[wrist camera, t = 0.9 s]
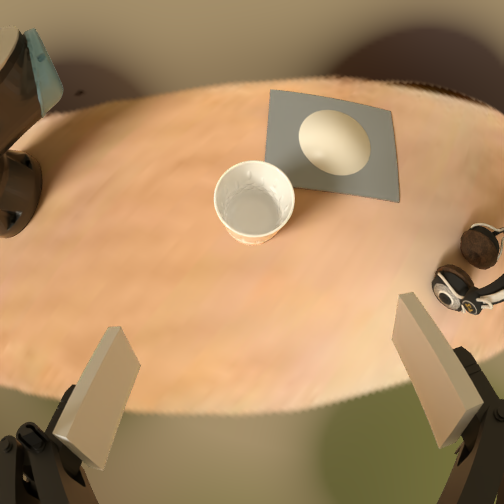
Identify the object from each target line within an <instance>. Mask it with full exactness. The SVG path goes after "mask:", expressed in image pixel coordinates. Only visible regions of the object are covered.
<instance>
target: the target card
mask: <svg viewBox="0 0 504 504" xmlns="http://www.w3.org/2000/svg"><path fill="white" fill-rule="evenodd" d="M265 162H267V163H270V164H272V165H274V166H276V167H277V168H279V169H280V170H281V171H283V172H284V173H285V175H286V176H287V177H288V179H289V180H290V182H291V184H292V186H293V188H302V189H310V190H318V191H326V192H333V193H340V194H347V195H354V196H361V197H367V198H373V199H380V200H386V201H391V202H397V203H399V183H398V169H397V158H396V148H395V139H394V131H393V124H392V117H391V111H387V110H383V109H379V108H375V107H371V106H367V105H363V104H358V103H354V102H349V101H344V100H339V99H334V98H328V97H322V96H316V95H310V94H303V93H296V92H289V91H280V90H270V102H269V115H268V128H267V140H266V152H265Z"/></svg>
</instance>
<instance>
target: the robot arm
mask: <svg viewBox="0 0 504 504" xmlns="http://www.w3.org/2000/svg"><path fill="white" fill-rule="evenodd" d="M62 93H63V86H62V83H61V81H60V79H59V76H58V74H57V72H56V70H55V68H54V65H53V63H52V61H51V59H50V57H49V55H48V53H47V51H46V49H45V46H44V44H43V42H42V40H41V38H40V36H39V34H38V33H37V31H36V29H34V28H33V29H30V30H28V31H25V32H24V34H23V35H22V34H21V32H20V31H19V30H18V29H17V28H16V27H15V26H8V27H3V28H0V237H2V238H10V237H13V236H15V235H16V234H18V233H19V232H20V231H21V230H22V229H23V228H24V227H25V226H26V225H27V223H28V222H29V220H30V219H31V217H32V215H33V213H34V211H35V209H36V207H37V204H38V201H39V197H40V193H41V186H42V174H41V169H40V166H39V164H38V162H37V161H36V159H35V158H33V157H32V156H30V155H29V154H27V153H25V152H23V151H16V150H8V149H9V148H10V147H11V146H12V145H13V144H14V143H15V142H16V141H17V140H18V139H19V138H20V137H21V136H22V135H23V134H24V133H25V132H26V131H27V130H29V129H30V128H31V127H32V126H33V125H34V124H35V123H36V122H37V121H38V120H40V119H41V118H43V117H44V116H45V113H46V112H47V111H49V109H51V108H52V107H53V106H54V105H55V104H56V103H57V102H58V101H59V100H60V98H61V97H62ZM392 341H393V343H394V345H395V347H396V349H397V351H398V353H399V355H400V358H401V360H402V362H403V364H404V366H405V368H406V370H407V373H408V375H409V377H410V379H411V381H412V384H413V386H414V388H415V390H416V393H417V395H418V397H419V400H420V402H421V404H422V407H423V409H424V411H425V414H426V416H427V418H428V421H429V424H430V426H431V428H432V431H433V434H434V436H435V439H436V442H437V444H438V447H439V449H441V448H443V447H445V446H448V445H450V444H453V443H455V442H456V441H457V440H458V438H459V437H460V436H462V438H463V440H464V441H463V442H462V444H461V445H460V446H459V447H458V449H457V450H456V452H455V454H457V453H458V452H459V453H458V456H457V459H456V461H455V464H454V466H453V469H452V471H451V474H450V476H449V479H448V481H447V483H446V485H445V488H444V490H443V492H442V494H441V496H440V498H439V500H438V502H437V504H494V501H495V498H496V495H497V501H496V504H504V400H503V399H499V397H498V396H497V395H496V393H495V391H494V390H493V388H492V386H491V385H490V383H489V381H488V380H487V378H486V376H485V375H484V373H483V372H482V371H481V369H480V367H479V365H478V364H477V362H476V361H475V359H474V357H473V356H472V354H471V353H470V352H468V351H467V350H466V349H464V348H463V347H462V346H461V347H458V348H455V349H452V348H451V346H450V345H449V343H448V342H447V340H446V339H445V337H444V336H443V334H442V333H441V331H440V330H439V328H438V327H437V325H436V324H435V322H434V321H433V319H432V318H431V316H430V315H429V314H428V312H427V311H426V309H425V308H424V306H423V305H422V304H421V302H420V301H419V299H418V298H417V297H416V295H415V294H414V293H413V292H411V293H406V294H401V295H399V297H398V304H397V311H396V317H395V324H394V330H393V335H392ZM140 367H141V365H140V363H139V361H138V359H137V357H136V355H135V353H134V352H133V350H132V348H131V346H130V344H129V342H128V340H127V338H126V336H125V334H124V332H123V330H122V328H121V327H108V329H107V330H106V332H105V334H104V336H103V337H102V339H101V341H100V342H99V344H98V346H97V348H96V349H95V351H94V353H93V355H92V357H91V358H90V360H89V362H88V364H87V366H86V367H85V369H84V371H83V373H82V375H81V377H80V379H79V380H78V382H77V384H76V385H72V386H71V387H70V388H69V389H68V390H67V391H66V392H65V393H64V395H63V397H62V399H61V402H60V403H59V405H58V409H56V411H55V413H54V415H53V417H52V419H51V421H50V423H49V425H48V427H47V429H46V431H45V433H44V432H43V431H42V430H41V429H40V428H39V427H38V426H37V425H36V424H35V423H32V422H27V423H25V424H23V425H22V426H21V427H20V428H19V429H18V431H17V434H16V438H15V437H13V436H9V435H8V436H5V437H4V438H3V439H2V440H1V441H0V504H98V501H97V499H96V497H95V495H94V493H93V490H92V488H91V486H90V484H89V481H88V479H87V476H86V474H85V471H84V469H83V468H82V466H81V463H82V461H83V462H84V463H86V464H87V465H88V466H89V467H92V468H95V469H99V470H104V467H105V464H106V461H107V458H108V455H109V452H110V449H111V446H112V443H113V440H114V437H115V434H116V431H117V428H118V426H119V423H120V420H121V417H122V414H123V412H124V409H125V406H126V403H127V401H128V398H129V395H130V393H131V390H132V387H133V385H134V382H135V379H136V377H137V374H138V372H139V369H140ZM23 474H24V475H25V476H26V477H27V480H26V481H24V480H23ZM497 492H498V493H497Z"/></svg>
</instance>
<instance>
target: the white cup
mask: <svg viewBox="0 0 504 504" xmlns="http://www.w3.org/2000/svg"><path fill="white" fill-rule="evenodd" d="M294 204H295V194H294V189H293V186H292V184H291V182H290V180H289V179H288V177H287V176H286V175H285V173H284V172H283V171H281V170H280V169H279V168H277V167H276V166H274V165H272V164H270V163H267V162H264V161H256V160H252V161H245V162H241V163H238V164H236V165H234V166H232V167H231V168H229V169H228V170H227V171H226V172H225V173H224V174H223V175H222V176H221V178H220V179H219V181H218V183H217V185H216V188H215V192H214V205H215V209H216V212H217V214H218V216H219V218H220V220H221V221H222V223H223V225H224V227H225V228H226V230H227V231H228V232H229V233H230V235H231V236H232V237H234V238H235V239H236V240H237V241H238V242H240V243H243V244H246V245H249V246H251V245H259V244H263V243H264V242H266V241H267V240H269V239H271V238H272V237H273V236H274V235H275V234H277V233H278V231H279V230H280V229H281V228H282V227H283V226H284V225H285V224H286V223H287V221H288V220H289V218H290V217H291V215H292V212H293V209H294Z"/></svg>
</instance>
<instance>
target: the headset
mask: <svg viewBox="0 0 504 504" xmlns="http://www.w3.org/2000/svg"><path fill="white" fill-rule="evenodd" d="M477 225H479V226H477ZM481 226H486V227H489V228H491V229H493V230H495V231H494V232H491V231H489V230H488V229H486V228H485V227H481ZM502 232H504V227H503V228H500V229H496V228H495V227H493V226H490V225H488V224H485V223H475V224H473V225H472V226H471V227H470V229H469V230H468V231H466V232H465V233H463V235H462V237H461V251H462V253H463V255H464V257H465V258H466V259H467V260H468V262H469V263H470V264H472V265H473V266H475V267H477V268H479V269H485V270H486V269H488V268H490V267H492V266H494V265H495V264H496V262H497V260H498V259H499V257H500V256H501V254H502V249H503V241H504V237H503V238H502V240H501V248H500V247H499V243H498V241H497V239H496V237H495V236H496V235H498V234H500V233H502ZM499 248H500V253H499ZM498 253H499V255H498ZM432 289H433V291H434V294H435V296H436V297H437V299H438V300H439V301H440V302H441V303H442V304H443V305H444V306H446V307H447V308H449V309H452V310H456V311H458V312H459V311H461V312H462V313H465V312H466V311H468V312H469V313H471V314H474V315H478V314H479V313H480V312H481V310H482V309H483V308H488V309H493V305H494V304H498V303H500V302H503V301H504V274H503V275H502V276H501V277H499V278H498V279H497V280H495V281H494V282H492V283H491V284H489V285H487V286H485V287H483V288H480V289H479V288H477V287H474V283H473V282H472V280H471V278H470V277H469V275H468V274H467V273H466V272H465V271H463V270H462V269H461V268H459V267H456V266H454V265H445V266H443V267H440V268H438V269H437V271H436V277H435V278H434V280H433V281H432ZM465 310H466V311H465Z"/></svg>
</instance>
